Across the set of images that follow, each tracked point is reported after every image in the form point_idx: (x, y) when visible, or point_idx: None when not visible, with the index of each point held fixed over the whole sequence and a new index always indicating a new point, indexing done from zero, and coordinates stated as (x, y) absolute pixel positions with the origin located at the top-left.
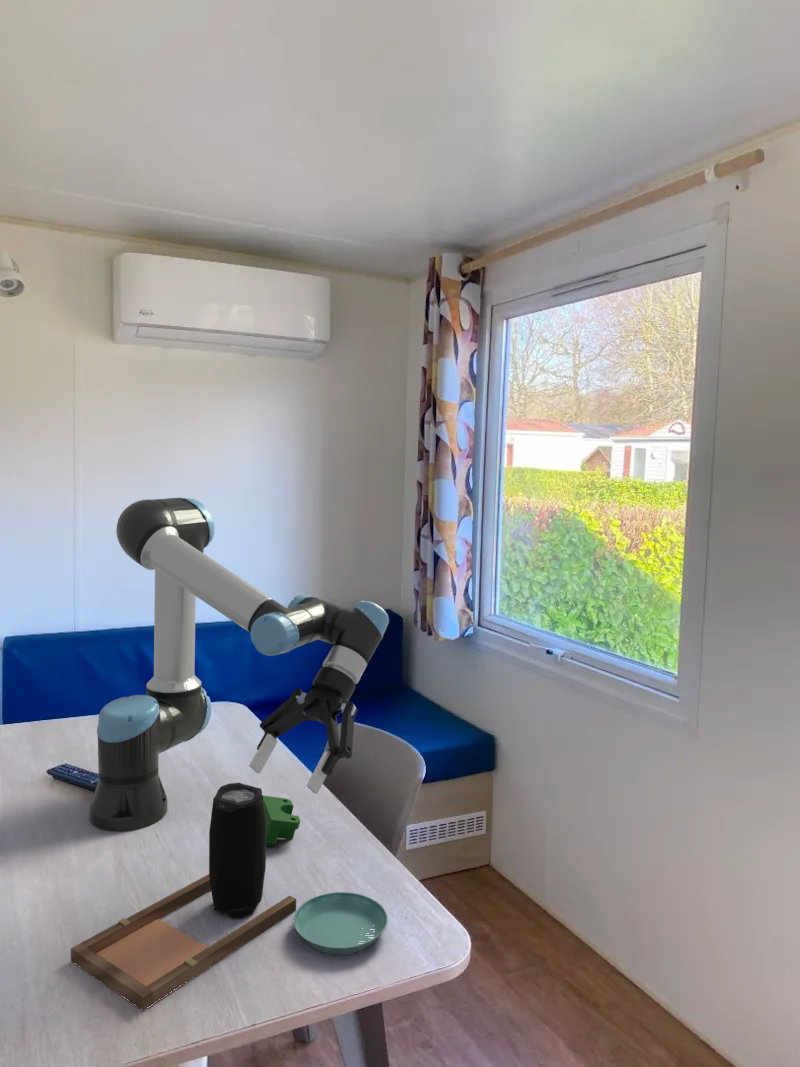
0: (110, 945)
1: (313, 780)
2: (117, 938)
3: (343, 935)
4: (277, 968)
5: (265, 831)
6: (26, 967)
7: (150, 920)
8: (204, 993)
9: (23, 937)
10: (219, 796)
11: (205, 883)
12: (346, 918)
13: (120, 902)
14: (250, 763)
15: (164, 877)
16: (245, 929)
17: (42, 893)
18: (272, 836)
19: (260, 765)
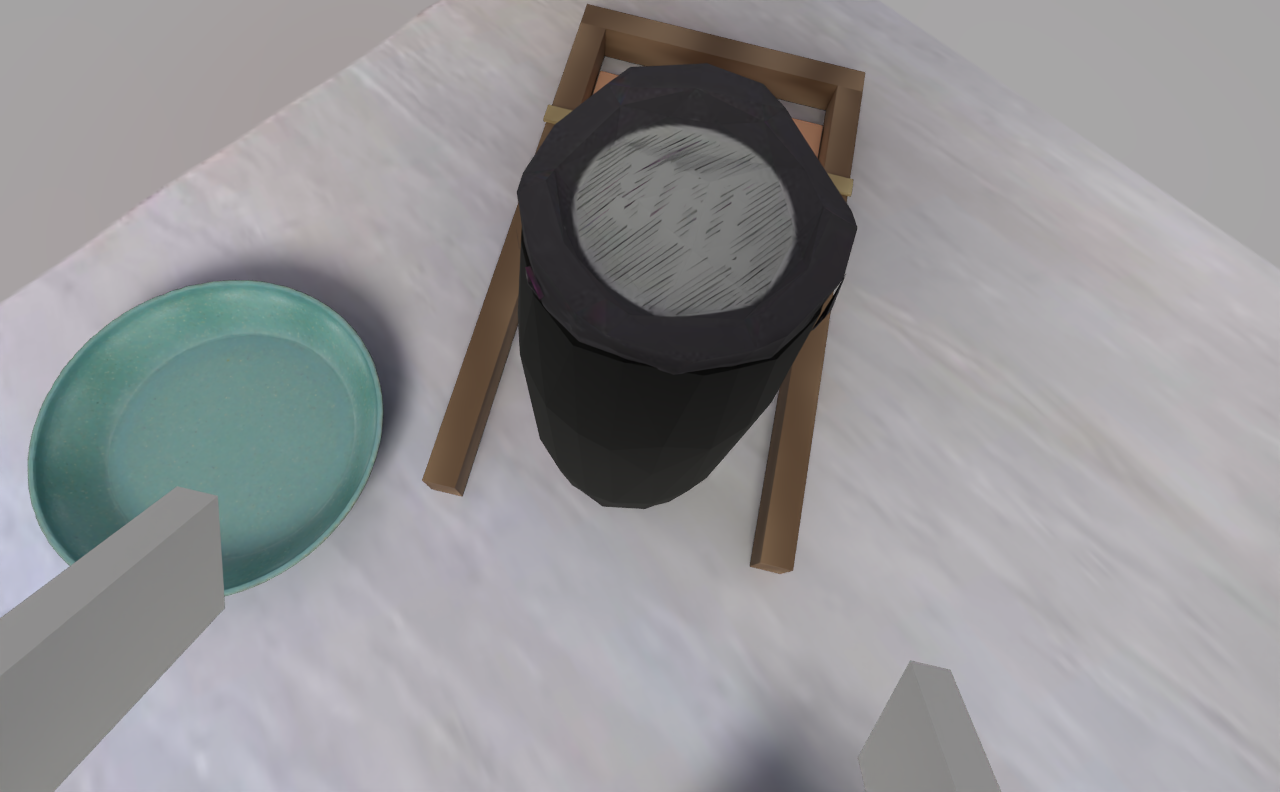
0: (816, 156)
1: (122, 529)
2: None
3: (216, 421)
4: (364, 233)
5: (531, 385)
6: (917, 57)
7: None
8: (495, 109)
9: (1021, 124)
10: (777, 140)
11: (778, 443)
12: (234, 511)
13: (953, 314)
14: (957, 692)
15: (953, 476)
16: (501, 273)
17: (1166, 270)
18: None
19: (890, 785)
